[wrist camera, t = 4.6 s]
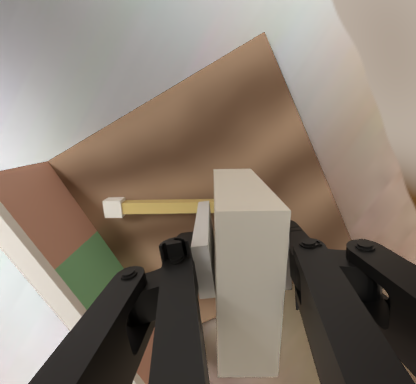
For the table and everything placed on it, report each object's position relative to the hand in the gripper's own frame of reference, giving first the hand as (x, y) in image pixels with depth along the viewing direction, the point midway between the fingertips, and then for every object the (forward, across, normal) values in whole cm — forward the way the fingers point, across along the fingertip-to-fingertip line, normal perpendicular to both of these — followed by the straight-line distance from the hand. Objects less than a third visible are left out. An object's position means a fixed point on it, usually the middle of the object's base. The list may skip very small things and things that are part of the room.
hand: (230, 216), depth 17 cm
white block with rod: (+3, -4, +1) cm, 6 cm away
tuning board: (+5, -2, -1) cm, 5 cm away
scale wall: (+3, -11, -4) cm, 12 cm away
